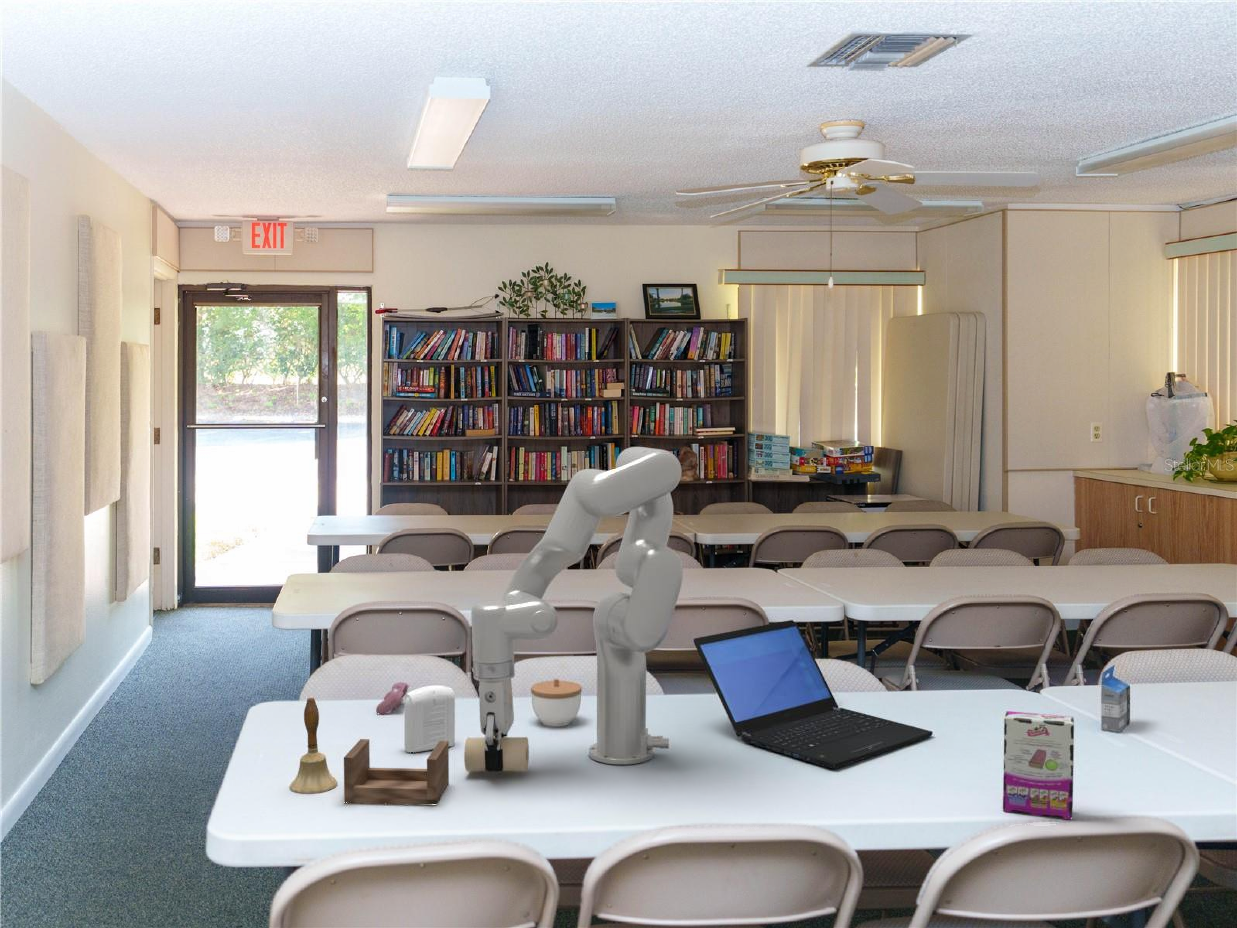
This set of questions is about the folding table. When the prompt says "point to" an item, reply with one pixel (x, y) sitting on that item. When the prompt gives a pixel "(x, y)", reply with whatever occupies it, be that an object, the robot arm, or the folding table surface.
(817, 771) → the folding table surface
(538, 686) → the lidded jar
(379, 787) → the roll cradle
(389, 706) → the pink rounded lump
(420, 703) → the photo printer
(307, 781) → the hand bell
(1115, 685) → the label tape box
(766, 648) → the laptop
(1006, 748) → the candy bar box
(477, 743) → the paper roll
